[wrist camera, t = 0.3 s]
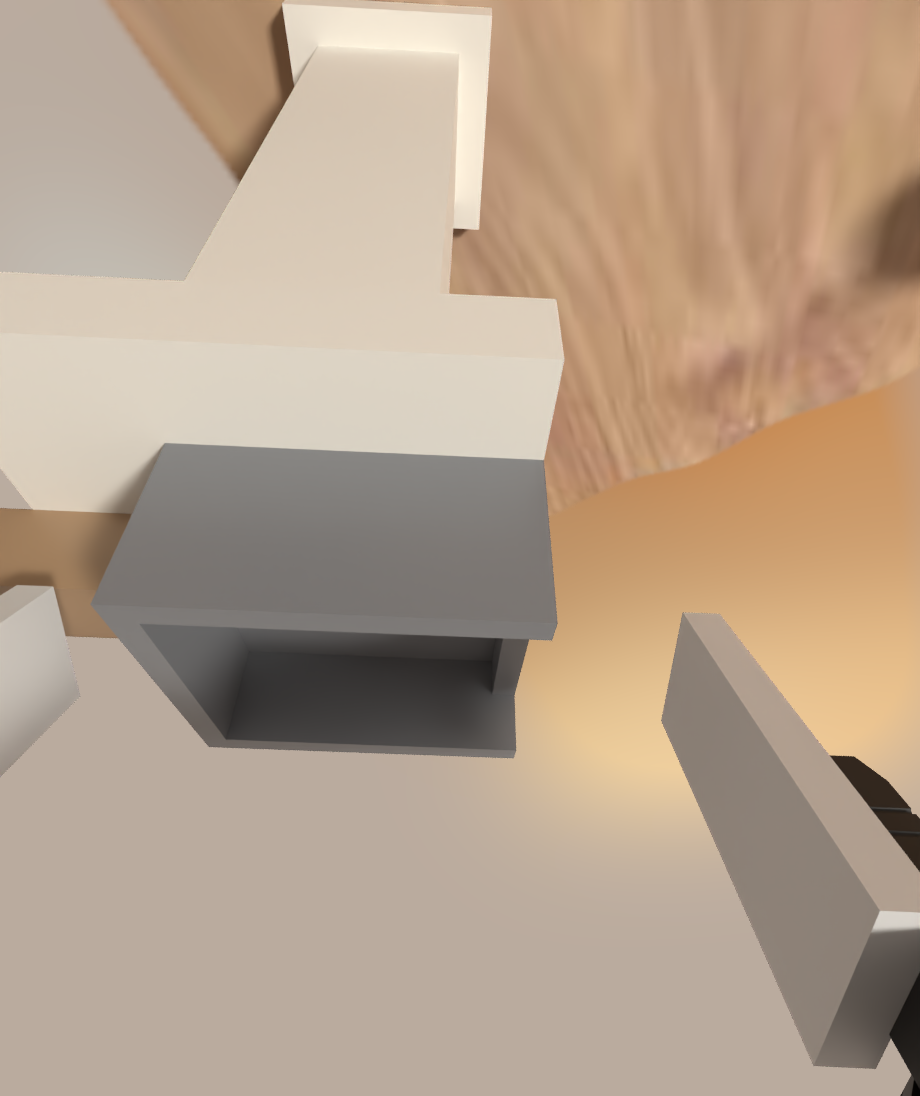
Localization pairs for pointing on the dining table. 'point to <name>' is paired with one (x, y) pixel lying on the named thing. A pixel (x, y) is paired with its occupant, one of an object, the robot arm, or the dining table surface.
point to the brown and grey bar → (313, 593)
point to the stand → (299, 289)
